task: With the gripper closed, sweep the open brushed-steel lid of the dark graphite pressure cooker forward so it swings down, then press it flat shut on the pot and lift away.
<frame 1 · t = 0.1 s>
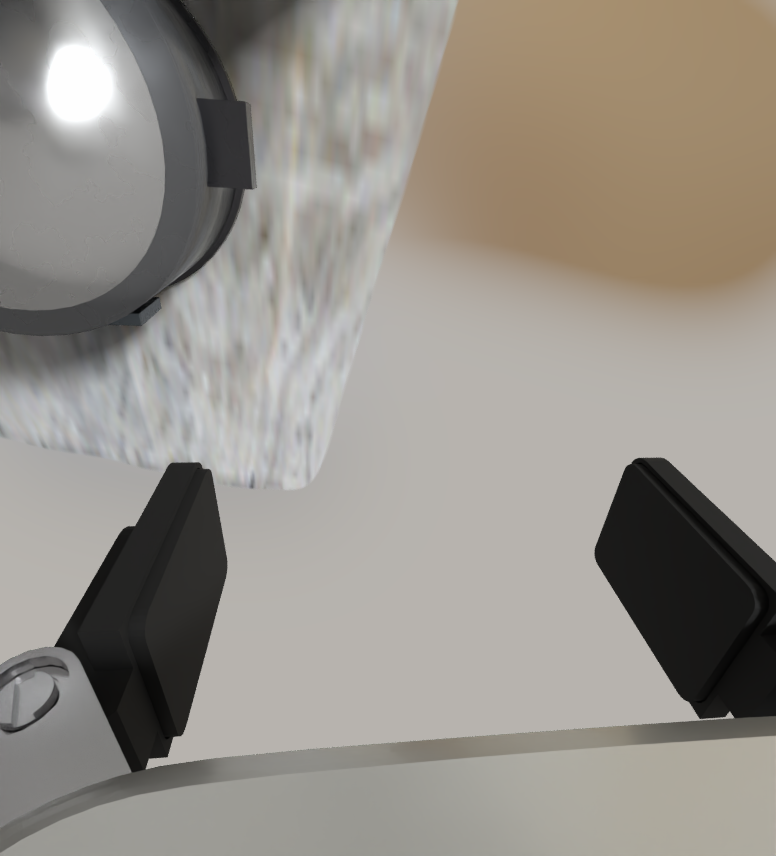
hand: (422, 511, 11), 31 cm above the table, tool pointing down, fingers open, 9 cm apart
pressure cooker: (90, 136, 32), on the table
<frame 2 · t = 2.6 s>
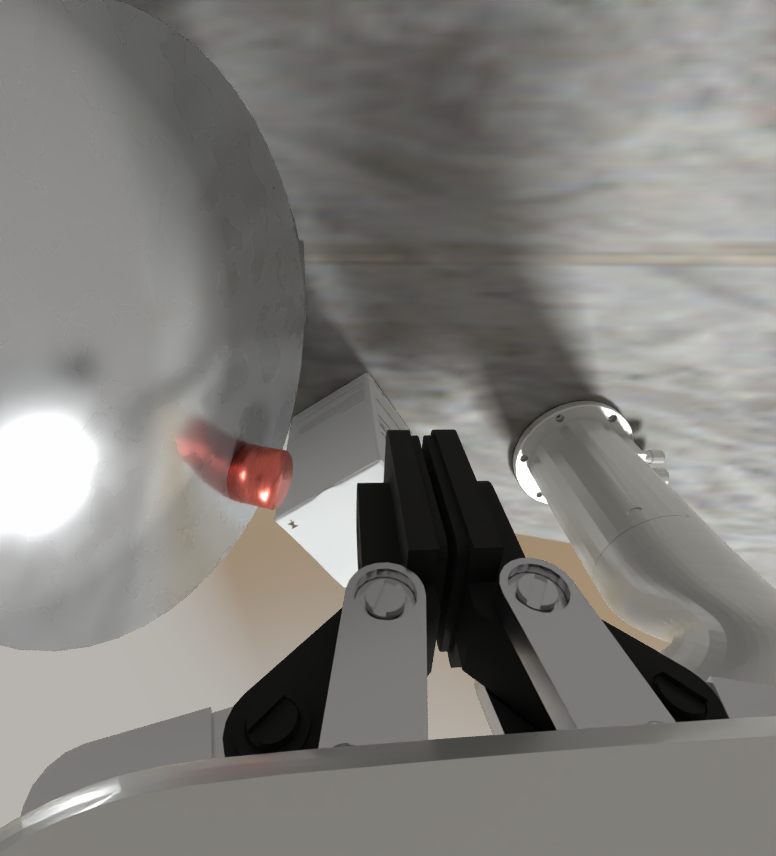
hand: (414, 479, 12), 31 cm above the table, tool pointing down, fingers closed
supplement box: (354, 426, 46), on the table
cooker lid: (177, 372, 17), point 24 cm above the table, hinge at 70.0°
pressure cooker: (167, 251, 37), on the table
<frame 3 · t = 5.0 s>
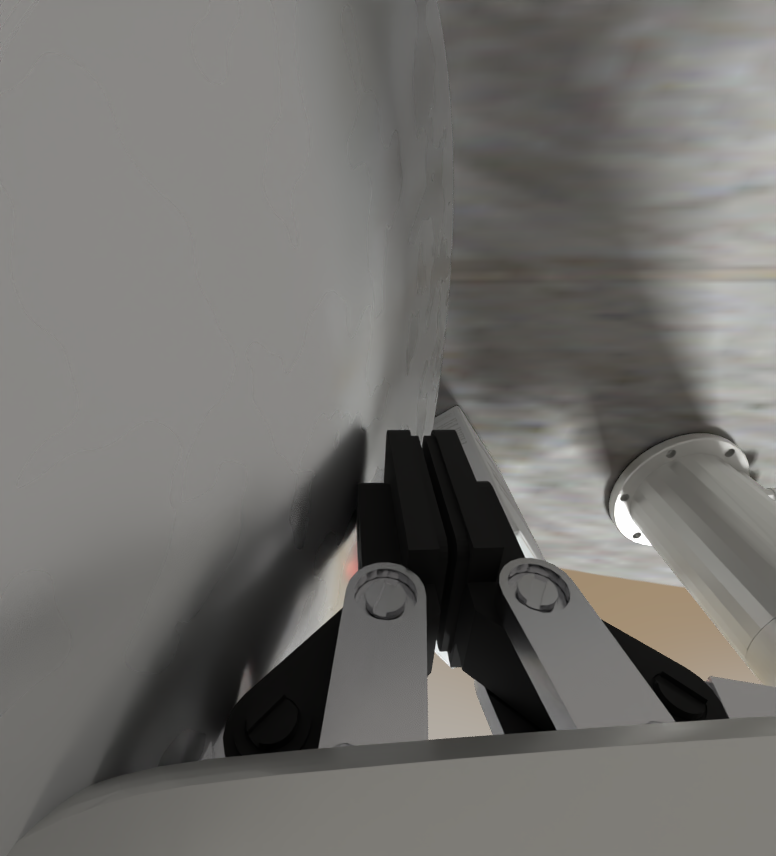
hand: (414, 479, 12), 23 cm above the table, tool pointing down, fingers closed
supplement box: (436, 464, 41), on the table
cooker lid: (376, 489, 11), point 24 cm above the table, hinge at 69.5°, touching gripper
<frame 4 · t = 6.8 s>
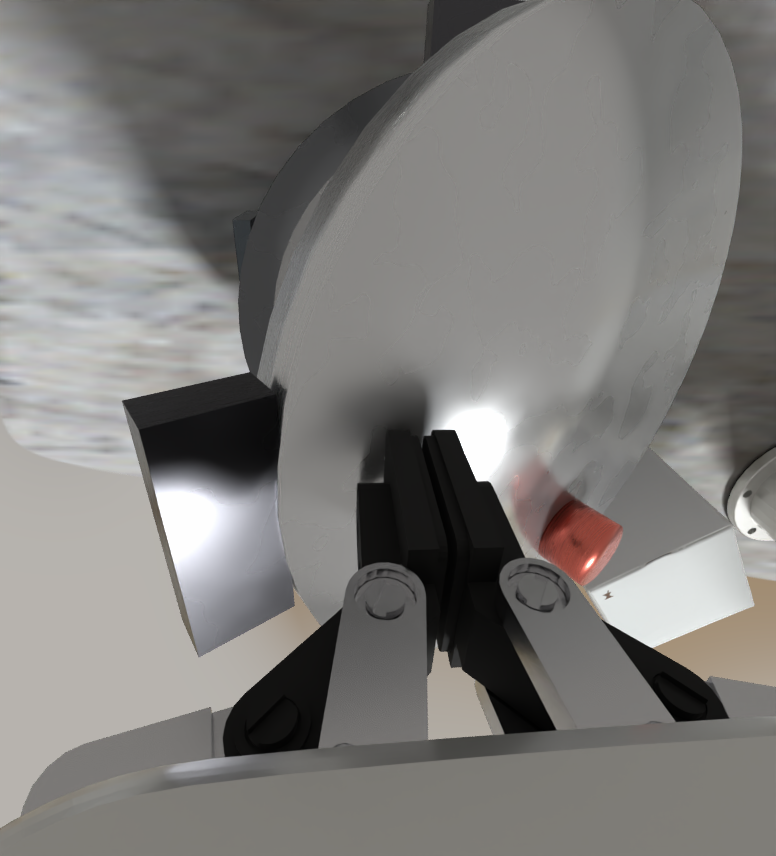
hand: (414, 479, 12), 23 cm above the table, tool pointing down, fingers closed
supplement box: (571, 461, 42), on the table
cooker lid: (551, 414, 15), point 20 cm above the table, hinge at 32.4°, touching gripper
pressure cooker: (421, 274, 32), on the table
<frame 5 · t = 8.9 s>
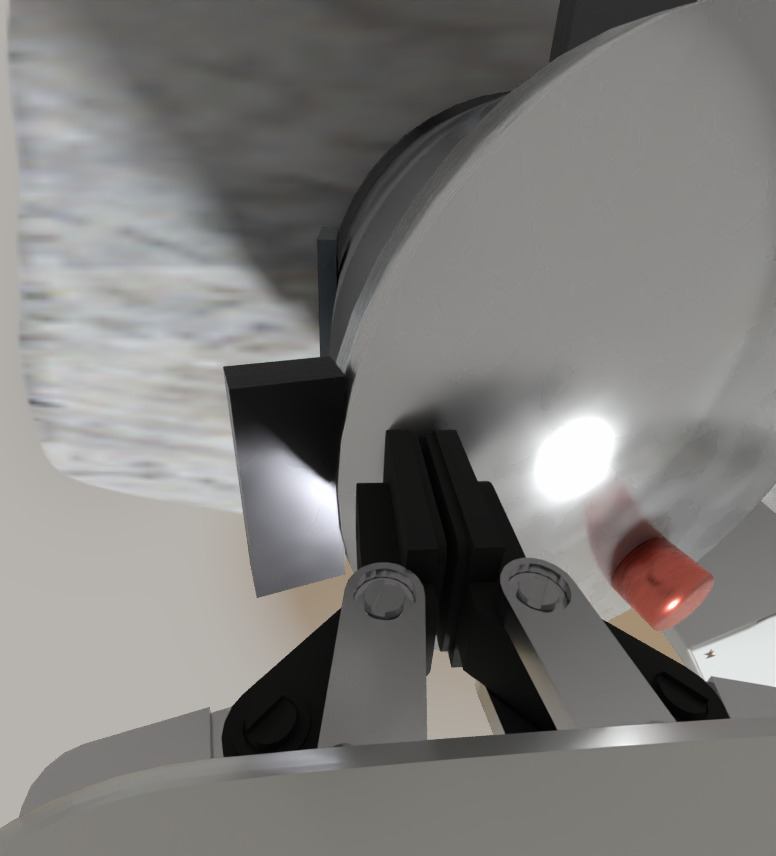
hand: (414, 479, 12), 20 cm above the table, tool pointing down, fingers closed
supplement box: (637, 492, 39), on the table
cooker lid: (634, 437, 14), point 17 cm above the table, hinge at 18.2°
pressure cooker: (495, 294, 29), on the table
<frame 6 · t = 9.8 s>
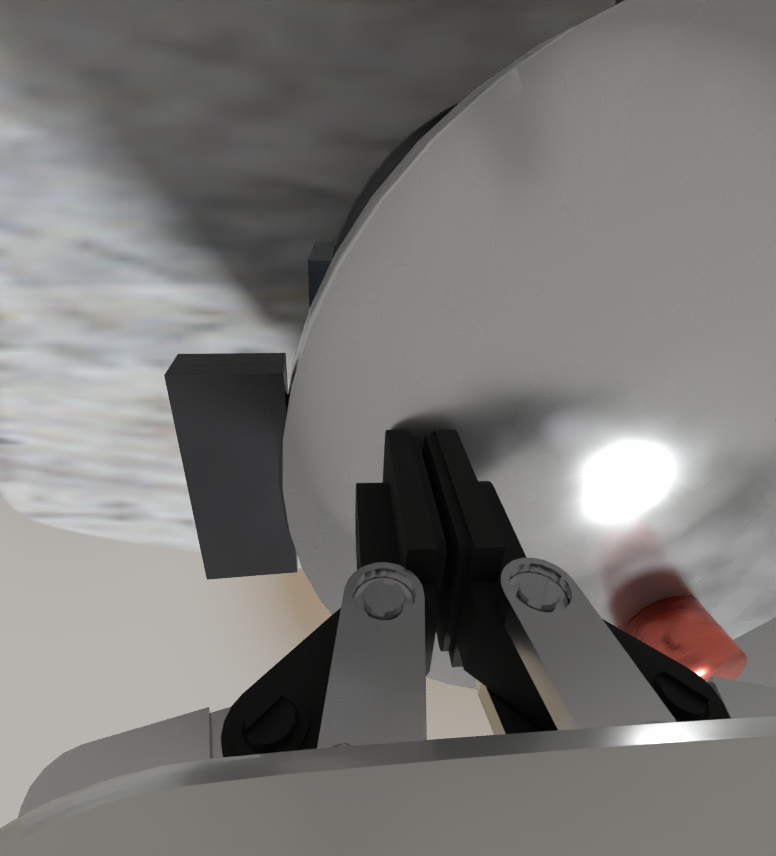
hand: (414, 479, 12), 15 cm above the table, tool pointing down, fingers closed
supplement box: (669, 529, 35), on the table
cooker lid: (638, 476, 13), point 15 cm above the table, hinge at 4.7°, touching gripper
pressure cooker: (517, 315, 25), on the table
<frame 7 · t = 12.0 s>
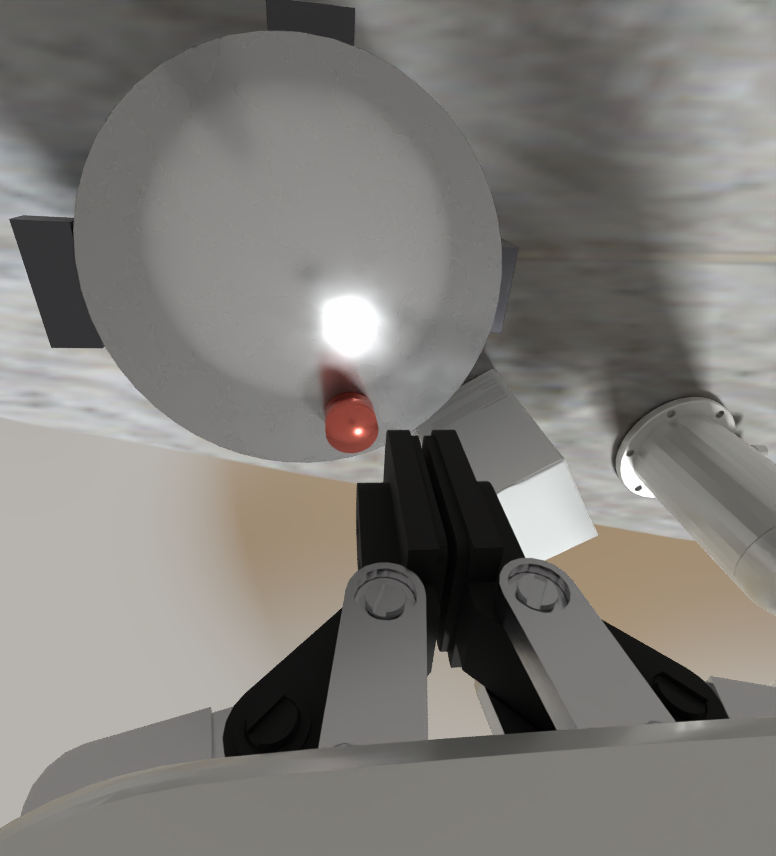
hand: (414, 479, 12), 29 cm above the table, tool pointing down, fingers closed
supplement box: (470, 421, 46), on the table
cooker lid: (282, 297, 23), point 14 cm above the table, hinge at 1.7°
pressure cooker: (316, 245, 36), on the table
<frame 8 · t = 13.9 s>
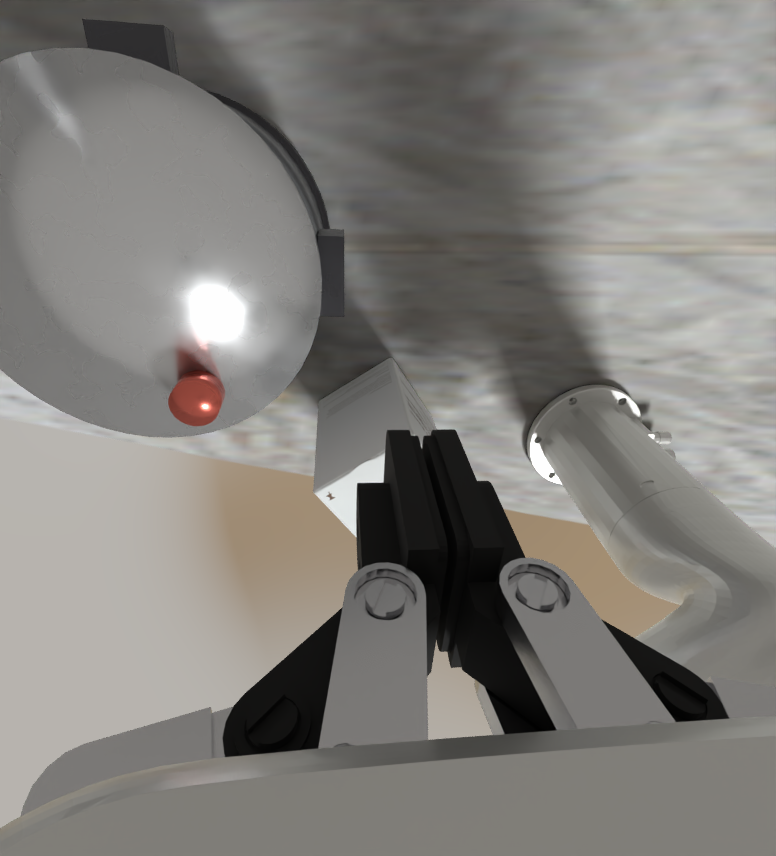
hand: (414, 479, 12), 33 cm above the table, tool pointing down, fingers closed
supplement box: (377, 409, 48), on the table
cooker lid: (114, 282, 26), point 14 cm above the table, hinge at 1.7°
pressure cooker: (205, 241, 39), on the table
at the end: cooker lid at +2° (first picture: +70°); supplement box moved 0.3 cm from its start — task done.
